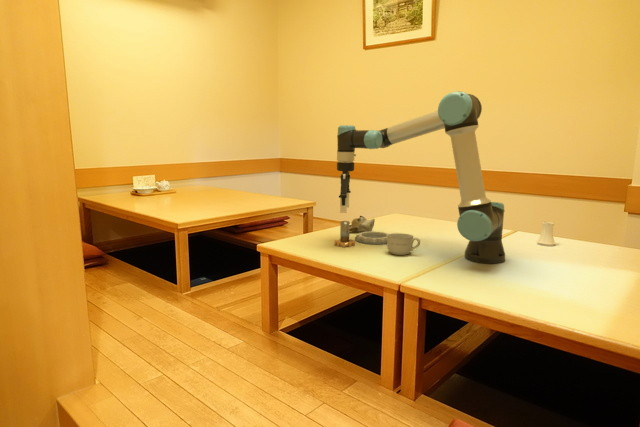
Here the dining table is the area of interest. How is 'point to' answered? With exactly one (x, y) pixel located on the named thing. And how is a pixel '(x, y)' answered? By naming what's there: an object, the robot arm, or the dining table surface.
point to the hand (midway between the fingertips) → (344, 210)
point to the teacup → (401, 243)
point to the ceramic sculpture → (361, 225)
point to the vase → (546, 234)
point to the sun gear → (344, 236)
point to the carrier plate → (372, 238)
